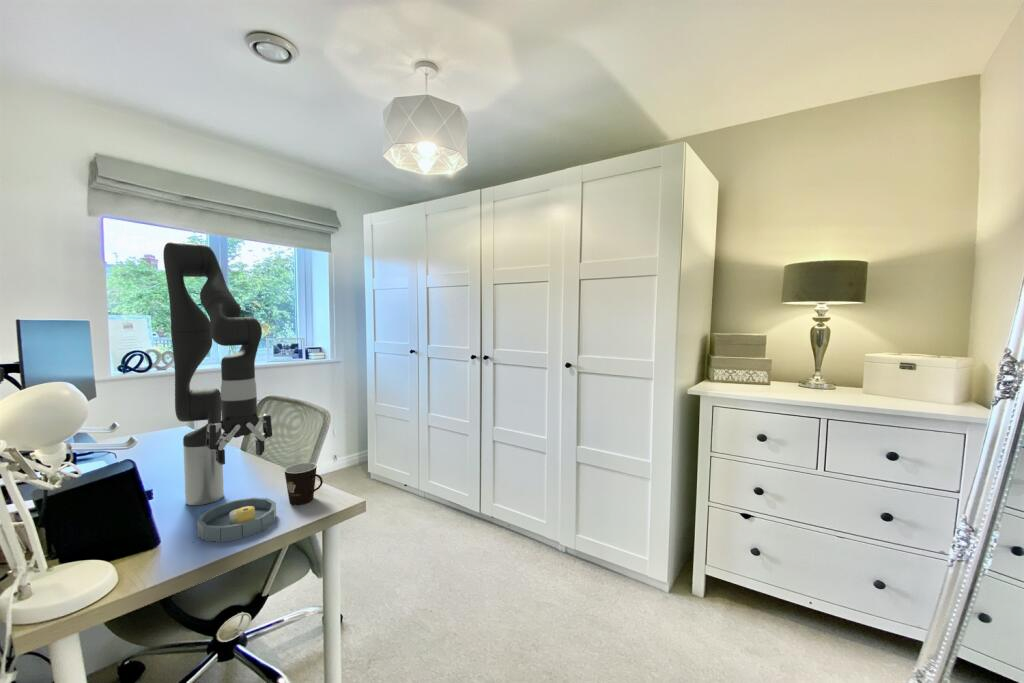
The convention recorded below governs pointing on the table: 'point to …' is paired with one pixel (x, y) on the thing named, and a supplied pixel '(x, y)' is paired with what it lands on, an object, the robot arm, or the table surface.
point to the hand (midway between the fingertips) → (241, 459)
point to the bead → (245, 514)
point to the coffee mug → (301, 482)
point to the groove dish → (237, 531)
